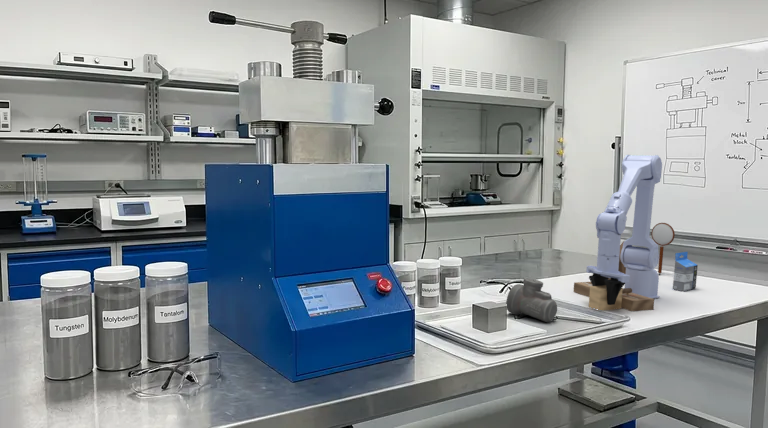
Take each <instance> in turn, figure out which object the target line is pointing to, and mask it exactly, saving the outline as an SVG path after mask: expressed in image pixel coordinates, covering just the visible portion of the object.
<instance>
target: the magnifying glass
mask: <svg viewBox="0 0 768 428" xmlns="http://www.w3.org/2000/svg"><path fill="white" fill-rule="evenodd" d="M650 234H651V237H652V238H651V239H652V240H653V241H654V242H655V243H657V245H658V246H659V261H658V267H657V268H658V270H657V273H658V275H659V274H662V271H663V269H662V268H663V262H664V261H663V259H664V246H665V247H666V246H668V245H670V244H671V243H673V241H674V239H675V235H676V234H675V230H674V228H673V227H672V226H671V225H670V224H669V223H667V222H659V223H657V224H655V225H654V226H653V227H652V230H651V232H650Z"/></svg>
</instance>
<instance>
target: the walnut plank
mask: <svg viewBox="0 0 768 428" xmlns="http://www.w3.org/2000/svg"><path fill="white" fill-rule="evenodd" d="M590 286H593V285H592V283H591V281H581V282H580V281H579V282H577V281H575V282H574V283H573V292H574V293H575V294H579V295H581V296H584V297H588V298H589V295H590ZM654 308H655V298H649V297H645V296H642V295H639V294H635V293H629V295H627V294H626V293H622V304H621V309H623V310H626V311H627V310H628V311H629V312H638V311H640V312H641V311H649V310H650V311H651V310H654Z"/></svg>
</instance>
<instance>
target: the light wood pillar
mask: <svg viewBox="0 0 768 428" xmlns="http://www.w3.org/2000/svg"><path fill="white" fill-rule="evenodd" d="M622 293H626V294H627V295H629V293H632V289H631V288H625V287H622V288H621V290H620V292H619V294H618V296H617V299H616V302H615V305H608V304H607V288H606V285H605V286H590V295H589V297H588V308H590V307H591V308H590V309H593V308H595V309H598V310H602V311H611V310H613V311H614V310H621V309H622V308H621V304H622ZM595 309H594V310H595ZM598 310H597V311H598Z"/></svg>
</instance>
